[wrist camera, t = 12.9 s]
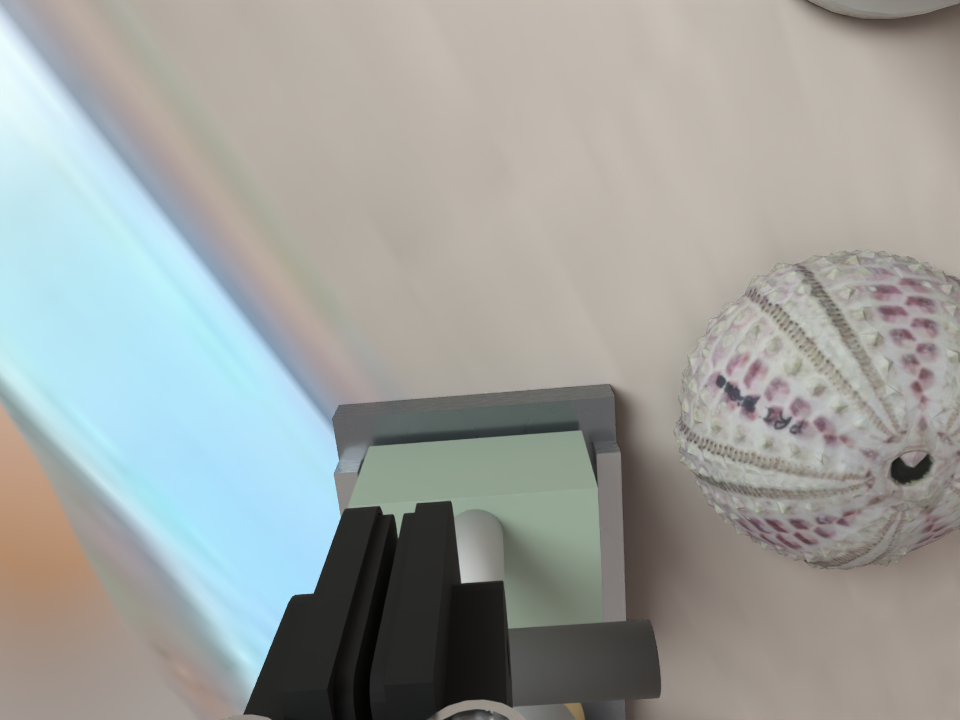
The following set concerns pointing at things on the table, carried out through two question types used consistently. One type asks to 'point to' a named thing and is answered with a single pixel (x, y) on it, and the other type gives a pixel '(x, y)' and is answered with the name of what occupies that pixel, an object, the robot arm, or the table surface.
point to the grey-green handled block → (527, 555)
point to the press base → (497, 419)
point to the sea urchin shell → (831, 409)
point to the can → (545, 712)
